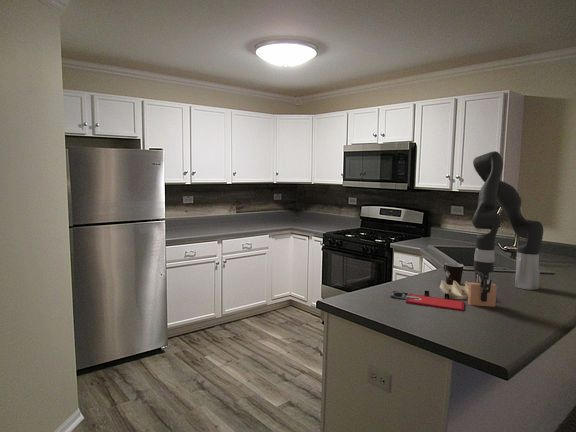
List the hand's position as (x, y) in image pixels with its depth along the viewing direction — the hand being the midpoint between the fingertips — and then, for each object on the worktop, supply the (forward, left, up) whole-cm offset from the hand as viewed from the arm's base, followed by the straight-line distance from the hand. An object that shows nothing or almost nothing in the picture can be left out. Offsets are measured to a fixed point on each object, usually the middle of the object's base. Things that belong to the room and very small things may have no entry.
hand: (481, 299), depth 166 cm
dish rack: (+3, -15, -2) cm, 15 cm away
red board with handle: (+22, -1, -3) cm, 22 cm away
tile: (0, 0, -2) cm, 2 cm away
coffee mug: (+4, -33, -3) cm, 33 cm away
